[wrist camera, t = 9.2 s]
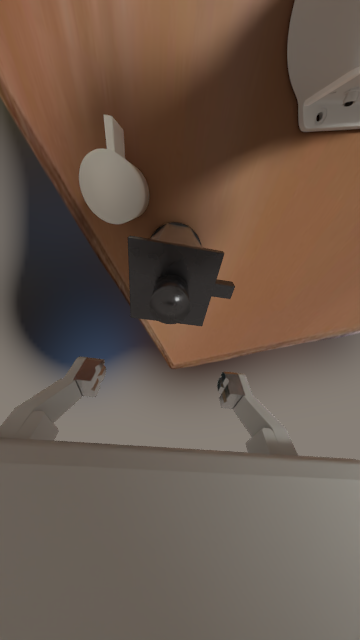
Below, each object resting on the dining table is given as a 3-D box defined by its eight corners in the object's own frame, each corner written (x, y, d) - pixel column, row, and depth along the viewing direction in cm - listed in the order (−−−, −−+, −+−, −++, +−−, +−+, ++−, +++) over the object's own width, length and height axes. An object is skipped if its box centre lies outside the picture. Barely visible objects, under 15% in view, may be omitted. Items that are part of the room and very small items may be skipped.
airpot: (147, 274, 38) (128, 319, 24) (149, 217, 31) (123, 232, 17) (207, 283, 40) (222, 330, 25) (221, 230, 33) (254, 254, 18)
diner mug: (150, 139, 25) (138, 116, 18) (148, 221, 32) (140, 228, 25) (97, 129, 25) (64, 100, 17) (107, 214, 31) (86, 219, 24)
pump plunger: (186, 245, 33) (193, 293, 16) (183, 266, 36) (186, 326, 19) (165, 241, 33) (150, 286, 16) (163, 263, 35) (148, 321, 19)
